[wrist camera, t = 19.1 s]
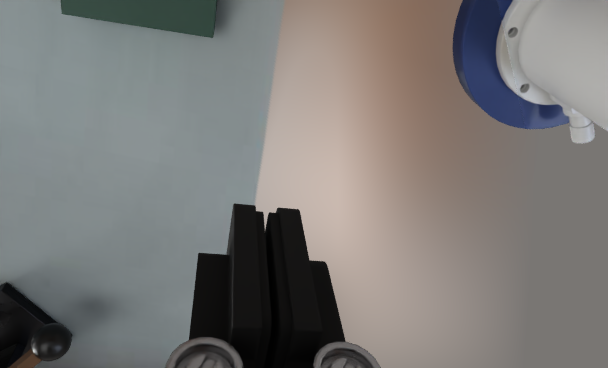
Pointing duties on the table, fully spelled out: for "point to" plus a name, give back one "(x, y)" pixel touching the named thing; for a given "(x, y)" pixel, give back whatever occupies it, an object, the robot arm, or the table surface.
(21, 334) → the black lever stand
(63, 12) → the button box
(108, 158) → the table surface
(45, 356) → the lever
